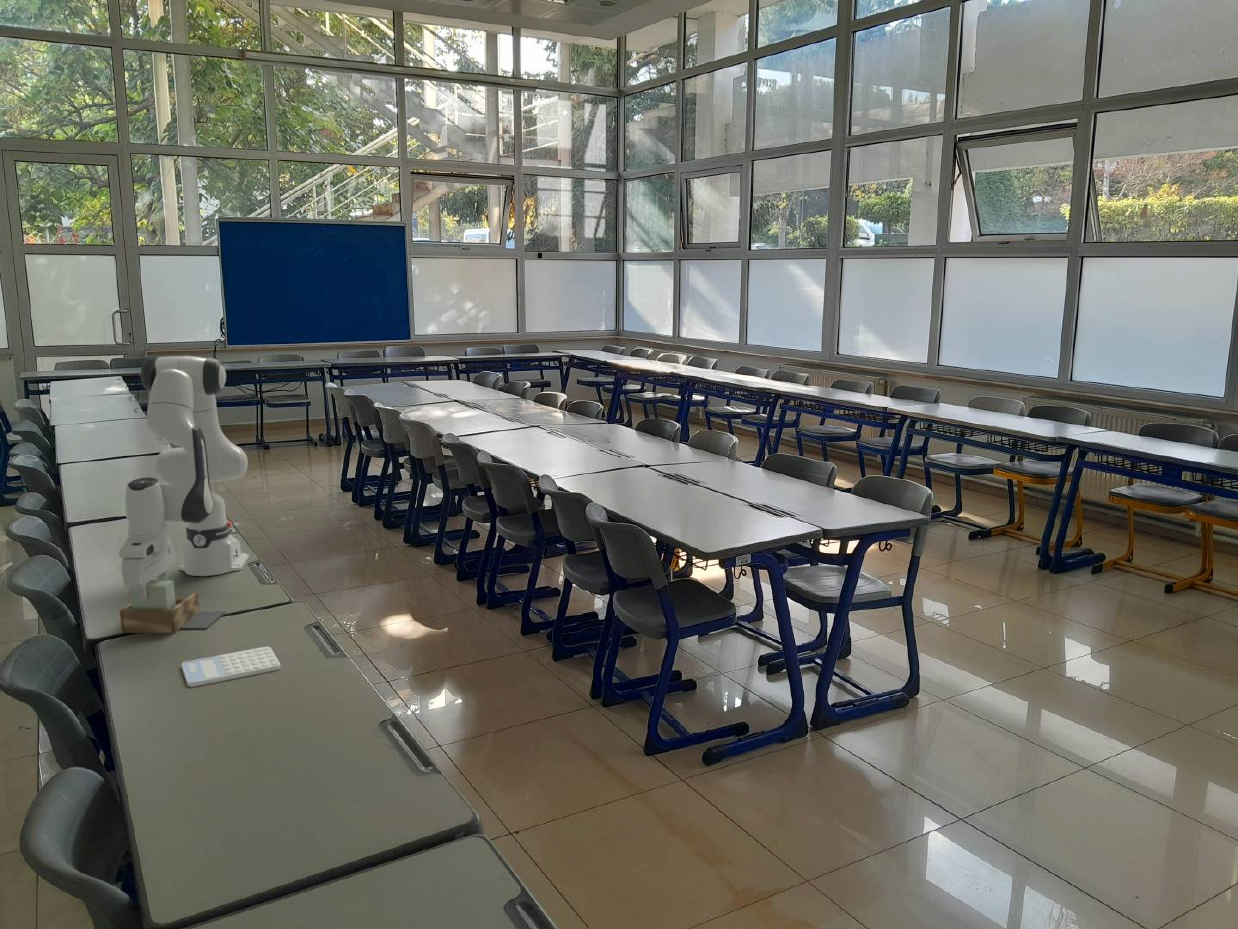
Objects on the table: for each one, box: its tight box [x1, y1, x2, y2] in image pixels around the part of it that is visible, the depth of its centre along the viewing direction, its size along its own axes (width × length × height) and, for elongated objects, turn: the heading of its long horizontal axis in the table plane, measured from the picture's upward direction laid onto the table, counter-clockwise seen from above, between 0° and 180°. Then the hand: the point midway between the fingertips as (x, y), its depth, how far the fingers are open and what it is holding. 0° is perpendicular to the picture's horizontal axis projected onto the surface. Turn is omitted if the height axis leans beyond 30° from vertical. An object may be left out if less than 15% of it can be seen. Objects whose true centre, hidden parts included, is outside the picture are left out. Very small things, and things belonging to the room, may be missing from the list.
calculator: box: [181, 646, 282, 688], centre depth 213 cm, size 13×20×2 cm, turn 122°
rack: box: [119, 591, 200, 634], centre depth 240 cm, size 14×14×6 cm
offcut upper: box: [175, 596, 183, 604], centre depth 243 cm, size 4×6×2 cm, turn 90°
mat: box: [180, 610, 226, 631], centre depth 242 cm, size 12×7×1 cm, turn 1°
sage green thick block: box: [129, 579, 176, 609], centre depth 236 cm, size 4×9×12 cm, turn 91°
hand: (153, 593), depth 236 cm, fingers open, 8 cm apart
